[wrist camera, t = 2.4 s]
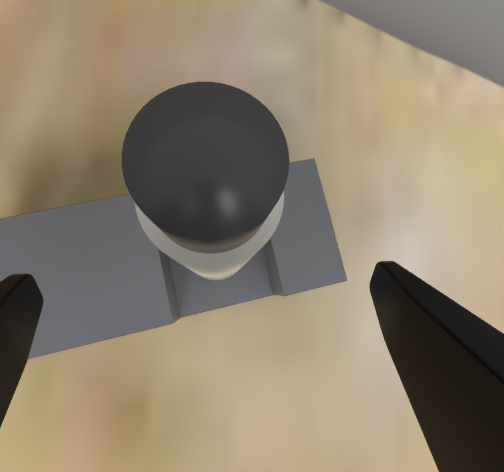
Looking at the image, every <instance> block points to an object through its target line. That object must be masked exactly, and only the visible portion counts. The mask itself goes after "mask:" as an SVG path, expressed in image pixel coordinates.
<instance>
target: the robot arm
mask: <svg viewBox="0 0 504 472" xmlns="http://www.w3.org/2000/svg"><path fill="white" fill-rule="evenodd" d="M370 292H371V296H372V299H373V303H374V306H375V310H376V313H377V317H378V320H379V324H380V327H381V330H382V334H383V337H384V340H385V342H386V345H387V348H388V350H389V352H390V355H391V357H392V360H393V362H394V365H395V367H396V369H397V372H398V374H399V377H400V379H401V381H402V384H403V386H404V389H405V391H406V393H407V396H408V398H409V401H410V403H411V405H412V408H413V410H414V413H415V415H416V418H417V420H418V422H419V425H420V427H421V430H422V432H423V434H424V437H425V439H426V442H427V444H428V446H429V449H430V451H431V454H432V456H433V458H434V461H435V463H436V466H437V468H438V471H439V472H504V334H503V333H502V332H500V331H499V330H497V329H496V328H494V327H493V326H491V325H490V324H488V323H487V322H485V321H484V320H482V319H480V318H479V317H477V316H476V315H474V314H473V313H471V312H470V311H468V310H467V309H465V308H464V307H462V306H461V305H459V304H458V303H456V302H455V301H453V300H452V299H450V298H449V297H447V296H446V295H444V294H443V293H441V292H440V291H438V290H437V289H435V288H433V287H432V286H430V285H429V284H427V283H426V282H424V281H423V280H421V279H420V278H418V277H417V276H415V275H414V274H412V273H411V272H409V271H408V270H406V269H405V268H403V267H402V266H400V265H399V264H397V263H396V262H394V261H380V262H378V263H377V264H376V266H375V269H374V272H373V275H372V278H371V281H370ZM42 307H43V296H42V293H41V291H40V289H39V287H38V285H37V283H36V281H35V279H34V277H33V276H32V275H31V274H28V273H23V274H12V275H10V276H8V277H7V278H5V279H3V280H2V281H0V427H1V425H2V422H3V420H4V417H5V415H6V412H7V410H8V407H9V405H10V403H11V400H12V398H13V395H14V393H15V390H16V388H17V385H18V383H19V380H20V378H21V375H22V373H23V371H24V368H25V365H26V363H27V360H28V357H29V354H30V350H31V347H32V343H33V339H34V336H35V332H36V329H37V325H38V322H39V318H40V314H41V311H42Z"/></svg>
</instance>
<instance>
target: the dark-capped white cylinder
mask: <svg viewBox="0 0 504 472" xmlns="http://www.w3.org/2000/svg"><path fill="white" fill-rule="evenodd" d="M122 169H123V176H124V179H125V183H126V186H127V188H128V190H129V193H130V195H131V197H132V198H133V200H134V202H135V208H136V212H137V216H138V219H139V222H140V224H141V226H142V228H143V230H144V232H145V233H146V235H147V236H148V238H149V239H150V240H151V241H152V243H153V244H154V245H155V246H156V247H157V248H159V249H160V250H161V251H162V252H163V253H165V254H166V255H168V256H169V257H171V258H172V259H174V260H175V261H177V262H178V263H180V264H182V265H183V266H185V267H186V268H188V269H190V270H191V271H193V272H194V273H196V274H197V275H199V276H201V277H203V278H205V279H208V280H214V281H217V280H224V279H227V278H229V277H231V276H232V275H234V274H235V273H236V272H237V271H238V270H239V269H240V268H241V267H243V266H244V265H245V264H246V263H247V262H248V261H249V260H250V259H251V258H252V257H253V256H254V255H255V254H256V253H257V252H258V251H259V250H260V249H261V248H262V247H263V246H264V245H265V244H266V243H267V242H268V240H269V239H270V238H271V236H272V235H273V233H274V232H275V230H276V228H277V226H278V224H279V221H280V218H281V215H282V211H283V206H284V188H285V185H286V182H287V177H288V172H289V152H288V147H287V142H286V139H285V136H284V134H283V131H282V129H281V127H280V125H279V123H278V122H277V120H276V119H275V117H274V116H273V115H272V113H271V112H270V111H269V110H268V109H267V108H266V107H265V106H264V105H263V104H262V103H261V102H260V101H258V100H257V99H256V98H254V97H253V96H251V95H250V94H248V93H246V92H244V91H242V90H240V89H238V88H235V87H232V86H229V85H225V84H221V83H215V82H194V83H187V84H183V85H179V86H176V87H173V88H171V89H168V90H166V91H164V92H162V93H160V94H159V95H157V96H156V97H154V98H153V99H152V100H150V101H149V102H148V103H147V104H146V105H145V106H144V107H143V108H142V109H141V110H140V111H139V113H138V114H137V115H136V116H135V118H134V120H133V121H132V123H131V124H130V127H129V129H128V131H127V133H126V137H125V140H124V143H123V150H122Z"/></svg>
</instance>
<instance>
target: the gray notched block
mask: <svg viewBox="0 0 504 472" xmlns="http://www.w3.org/2000/svg"><path fill="white" fill-rule="evenodd" d="M23 273H28V274H31V275H32V276H33V277H34V279H35V281H36V283H37V285H38V287H39V289H40V291H41V293H42V296H43V307H42V311H41V314H40V318H39V322H38V325H37V329H36V332H35V336H34V339H33V343H32V347H31V350H30V354H29V357H28V359H30V358H34V357H38V356H42V355H46V354H50V353H54V352H59V351H63V350H67V349H71V348H75V347H79V346H83V345H87V344H91V343H95V342H99V341H103V340H107V339H112V338H116V337H120V336H124V335H128V334H132V333H136V332H140V331H144V330H148V329H152V328H156V327H160V326H165V325H169V324H173V323H174V322H176V321H177V320H178V319H180V318H181V317H185V316H189V315H193V314H197V313H202V312H206V311H210V310H214V309H218V308H222V307H226V306H230V305H234V304H238V303H243V302H247V301H251V300H255V299H259V298H263V297H267V296H271V295H280V296H287V295H291V294H295V293H299V292H303V291H307V290H311V289H315V288H319V287H324V286H328V285H332V284H336V283H340V282H344V281H347V278H346V274H345V270H344V267H343V263H342V259H341V255H340V252H339V248H338V244H337V241H336V237H335V233H334V229H333V226H332V222H331V218H330V215H329V211H328V207H327V203H326V200H325V196H324V192H323V189H322V185H321V181H320V178H319V174H318V170H317V166H316V163H315V159H314V158H313V159H308V160H303V161H297V162H292V163H289V172H288V177H287V182H286V185H285V188H284V206H283V211H282V215H281V218H280V221H279V224H278V226H277V228H276V230H275V232H274V233H273V235H272V236H271V238H270V239H269V240H268V242H267V243H266V244H265V245H264V246H263V247H262V248H261V249H260V250H259V251H258V252H257V253H256V254H255V255H254V256H253V257H252V258H251V259H250V260H249V261H248V262H247V263H246V264H245V265H244V266H243V267H241V268H240V269H239V270H238V271H237V272H236V273H235V274H234V275H232V276H231V277H229V278H227V279H224V280H217V281H214V280H208V279H205V278H203V277H201V276H199V275H197V274H196V273H194V272H193V271H191V270H190V269H188V268H186V267H185V266H183V265H182V264H180V263H178V262H177V261H175V260H174V259H172V258H171V257H169V256H168V255H166V254H165V253H163V252H162V251H161V250H160V249H159V248H157V247H156V246H155V245H154V244H153V243H152V241H151V240H150V239H149V238H148V236H147V235H146V233H145V232H144V230H143V228H142V226H141V224H140V222H139V219H138V216H137V212H136V208H135V202H134V200H133V198H132V197H131V195H130V194H127V195H122V196H117V197H111V198H106V199H101V200H96V201H91V202H86V203H80V204H75V205H70V206H65V207H60V208H54V209H49V210H44V211H39V212H34V213H29V214H23V215H18V216H13V217H8V218H3V219H0V281H2V280H3V279H5V278H7V277H8V276H10V275H12V274H23Z"/></svg>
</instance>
